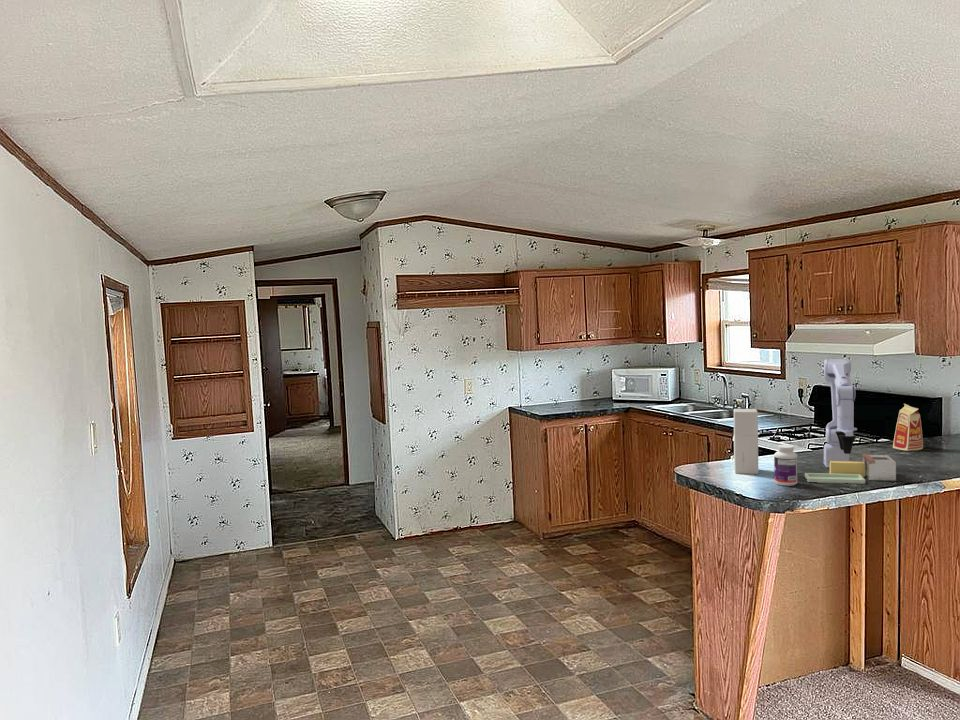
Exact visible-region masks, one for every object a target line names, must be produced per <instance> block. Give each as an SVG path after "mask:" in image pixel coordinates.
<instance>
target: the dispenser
mask: <svg viewBox="0 0 960 720" xmlns="http://www.w3.org/2000/svg"><path fill="white" fill-rule="evenodd" d="M861 455H862V457H861V460H862V461H861V462H864V463H865V476H866V478H867V479H868V480H869V481H889V482H890V481H894V482H895V481H897V462H896V461H895V460H894V459H893V458H892V457H891V456H889V455H888V454H868V453H862V454H861Z"/></svg>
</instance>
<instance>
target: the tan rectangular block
mask: <svg viewBox="0 0 960 720" xmlns="http://www.w3.org/2000/svg"><path fill="white" fill-rule="evenodd" d="M829 474H860V475H861V476H862V477H863V478H865V477H866V475H865V463H864V462H862V461H853V460H851V461H850V460H849V461H830V467H829Z"/></svg>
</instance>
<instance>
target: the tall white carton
mask: <svg viewBox="0 0 960 720" xmlns="http://www.w3.org/2000/svg"><path fill="white" fill-rule="evenodd" d="M758 415H759V413H758V410H757V408H734V409H733V469H734V473H735V474H743V475H744V474H746V475H747V474H748V475H758V474H759V426H758V425H759V421H758V420H759V417H758Z"/></svg>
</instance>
